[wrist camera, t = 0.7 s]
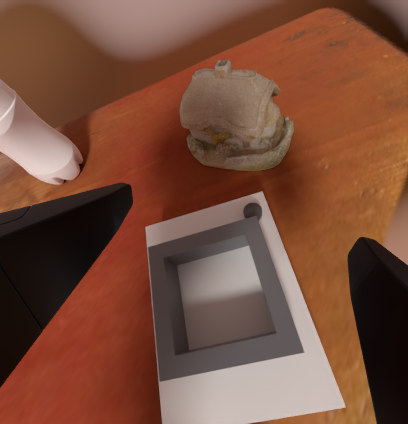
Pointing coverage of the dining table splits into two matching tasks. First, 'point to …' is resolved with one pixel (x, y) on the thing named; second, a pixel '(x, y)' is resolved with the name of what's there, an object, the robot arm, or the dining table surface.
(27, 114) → the water bottle
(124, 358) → the dining table surface
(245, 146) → the ceramic model
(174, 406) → the tray on white base
